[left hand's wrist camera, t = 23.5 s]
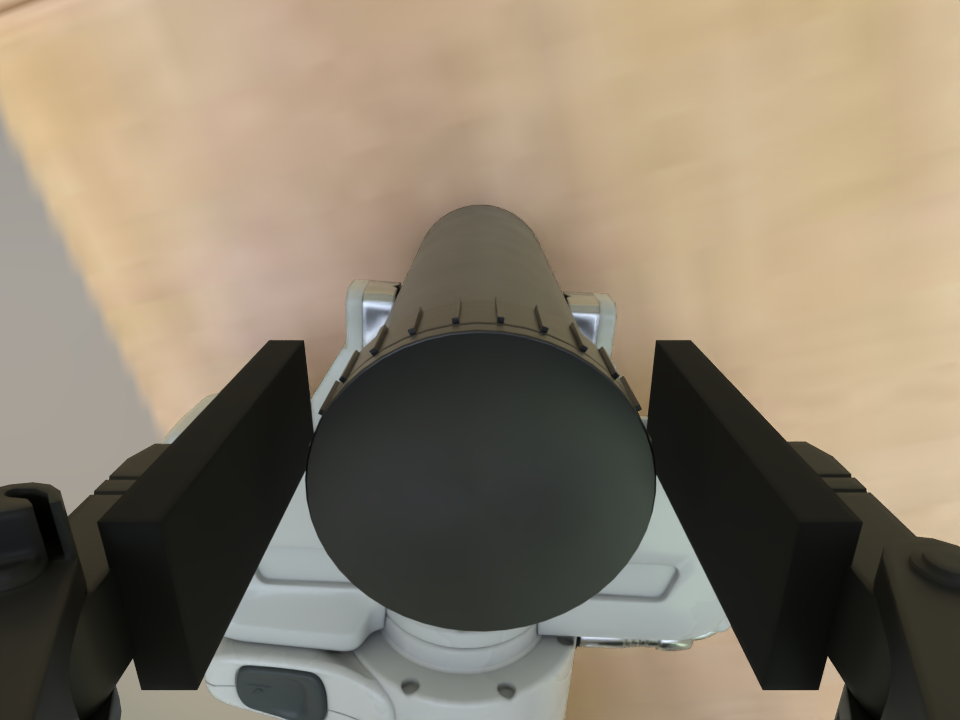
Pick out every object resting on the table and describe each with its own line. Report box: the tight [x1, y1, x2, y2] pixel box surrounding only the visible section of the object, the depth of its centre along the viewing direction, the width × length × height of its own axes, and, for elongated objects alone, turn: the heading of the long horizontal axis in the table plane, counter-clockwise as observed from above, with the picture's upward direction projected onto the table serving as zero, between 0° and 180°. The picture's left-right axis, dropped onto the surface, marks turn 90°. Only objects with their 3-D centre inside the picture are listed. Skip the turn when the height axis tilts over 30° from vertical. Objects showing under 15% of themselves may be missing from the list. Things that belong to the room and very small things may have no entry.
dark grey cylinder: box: [384, 205, 577, 328], centre depth 18 cm, size 5×5×16 cm
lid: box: [305, 296, 656, 632], centre depth 11 cm, size 6×6×2 cm
